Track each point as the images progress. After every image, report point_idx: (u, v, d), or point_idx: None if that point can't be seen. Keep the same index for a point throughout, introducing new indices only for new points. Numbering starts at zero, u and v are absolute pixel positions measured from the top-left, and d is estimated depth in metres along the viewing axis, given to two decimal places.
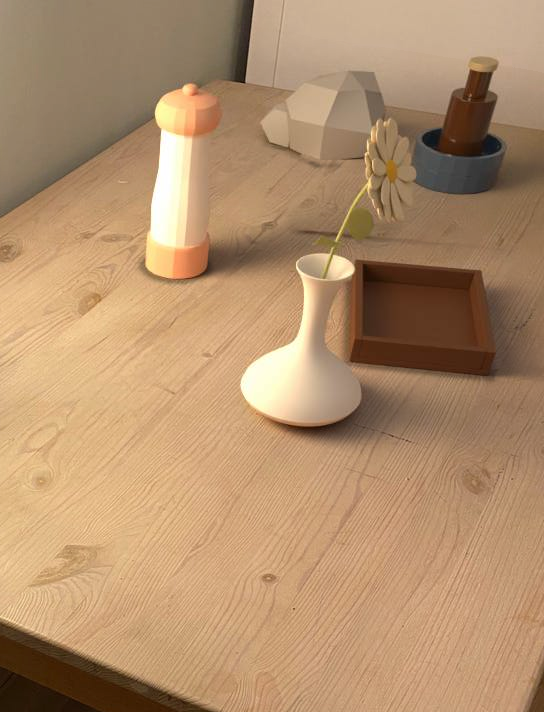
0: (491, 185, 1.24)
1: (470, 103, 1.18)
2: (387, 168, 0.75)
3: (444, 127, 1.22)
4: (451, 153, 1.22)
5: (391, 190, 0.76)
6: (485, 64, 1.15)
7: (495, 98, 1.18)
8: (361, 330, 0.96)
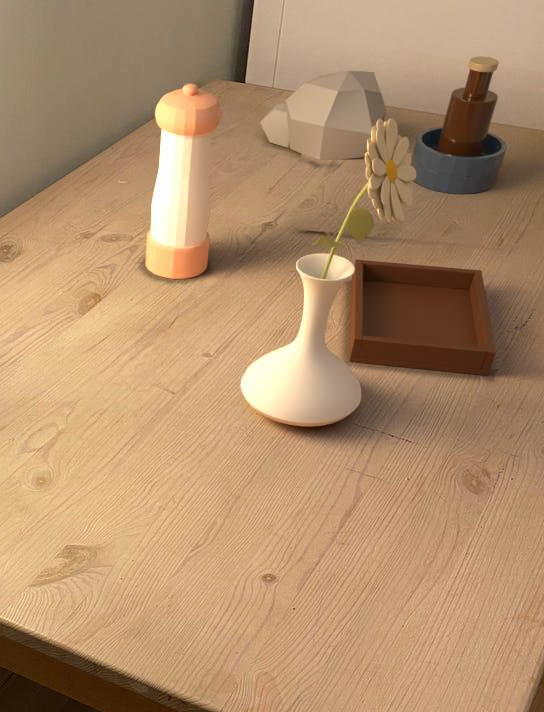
0: (491, 185, 1.24)
1: (470, 103, 1.18)
2: (387, 168, 0.75)
3: (444, 127, 1.22)
4: (451, 153, 1.22)
5: (391, 190, 0.76)
6: (485, 64, 1.15)
7: (495, 98, 1.18)
8: (361, 330, 0.96)
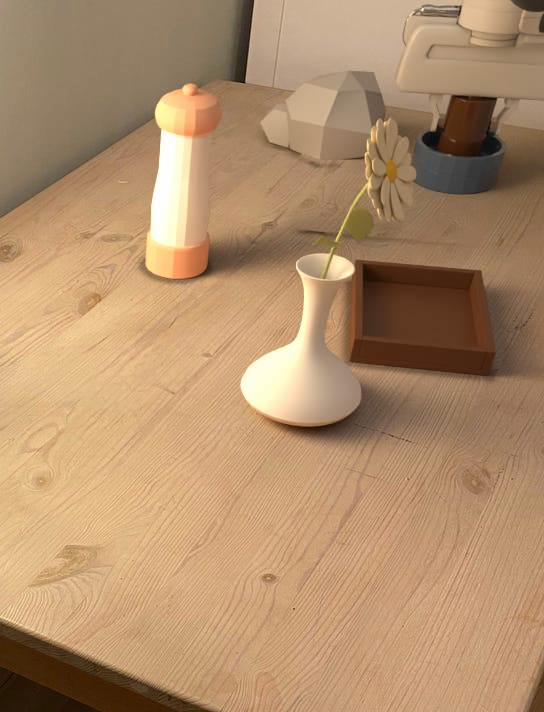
0: (491, 185, 1.24)
1: (469, 103, 1.18)
2: (387, 168, 0.75)
3: (444, 127, 1.22)
4: (451, 153, 1.22)
5: (391, 190, 0.76)
6: None
7: (495, 98, 1.18)
8: (361, 330, 0.96)
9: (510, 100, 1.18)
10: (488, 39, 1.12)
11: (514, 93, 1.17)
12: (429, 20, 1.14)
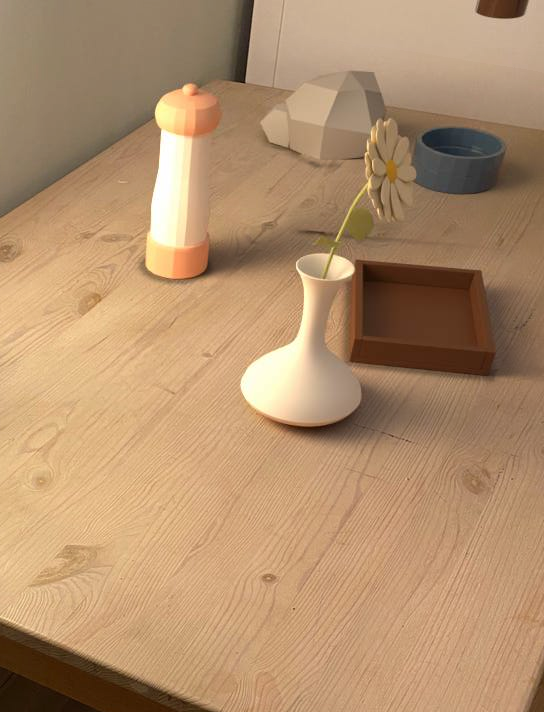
0: (491, 185, 1.24)
1: None
2: (387, 168, 0.75)
3: None
4: None
5: (391, 190, 0.76)
6: None
7: None
8: (361, 330, 0.96)
9: None
10: None
11: None
12: None
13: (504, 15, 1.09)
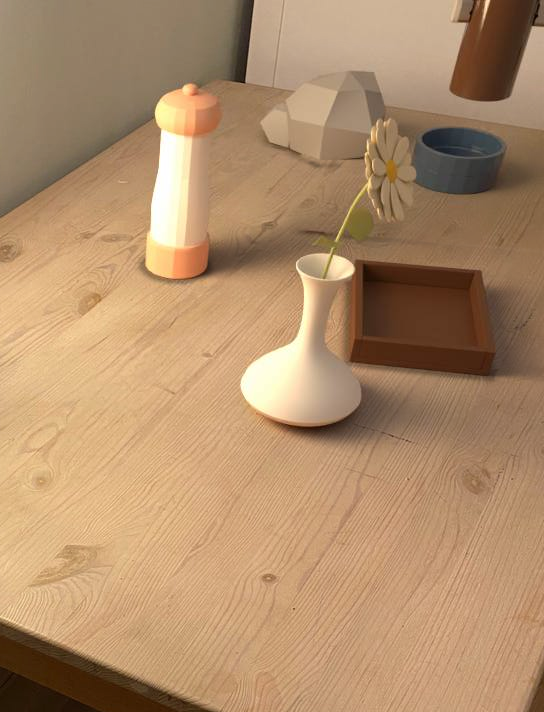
0: (491, 185, 1.24)
1: None
2: (387, 168, 0.75)
3: (470, 15, 0.84)
4: (481, 53, 0.84)
5: (391, 190, 0.76)
6: None
7: None
8: (361, 330, 0.96)
9: None
10: None
11: None
12: None
13: (485, 97, 0.86)
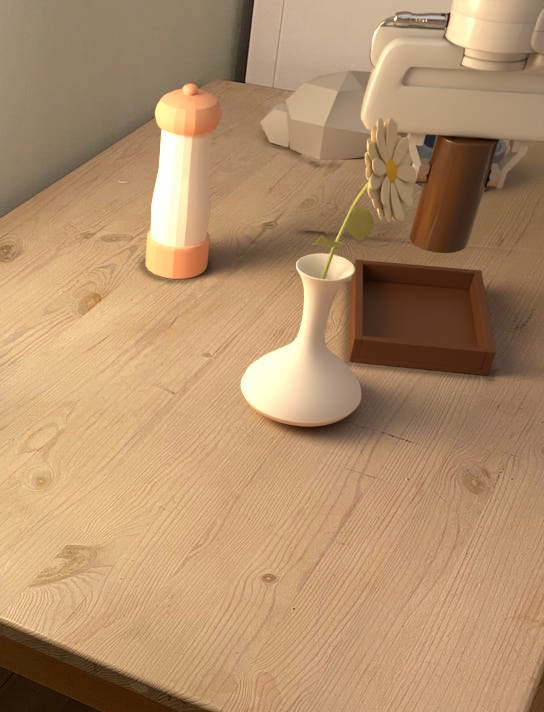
0: None
1: (462, 146, 0.86)
2: (387, 168, 0.75)
3: (427, 177, 0.90)
4: (437, 212, 0.90)
5: (391, 190, 0.76)
6: None
7: (496, 139, 0.86)
8: (361, 330, 0.96)
9: (517, 142, 0.86)
10: (488, 60, 0.81)
11: (523, 133, 0.85)
12: (406, 33, 0.82)
13: (442, 249, 0.93)
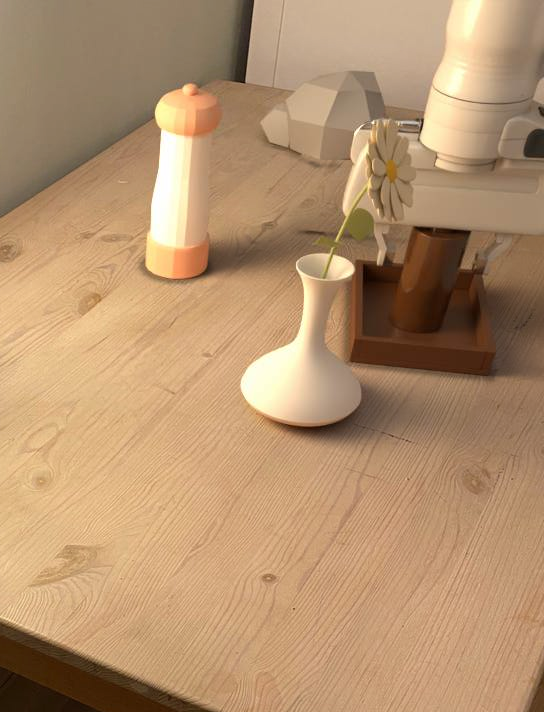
0: None
1: (435, 240, 0.92)
2: (387, 168, 0.75)
3: (404, 264, 0.96)
4: (413, 296, 0.97)
5: (391, 190, 0.76)
6: None
7: (468, 233, 0.93)
8: (361, 330, 0.96)
9: (502, 234, 0.92)
10: (459, 163, 0.87)
11: (493, 226, 0.91)
12: None
13: (419, 330, 0.99)
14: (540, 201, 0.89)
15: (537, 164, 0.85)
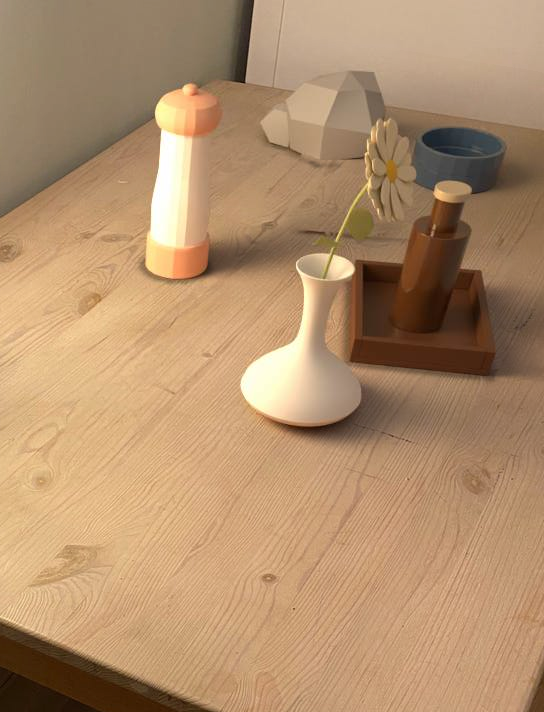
0: (491, 185, 1.24)
1: (435, 240, 0.92)
2: (387, 168, 0.75)
3: (404, 264, 0.96)
4: (413, 296, 0.97)
5: (391, 190, 0.76)
6: (454, 193, 0.90)
7: (468, 233, 0.93)
8: (361, 330, 0.96)
9: None
10: None
11: None
12: None
13: (419, 330, 0.99)
14: None
15: None
